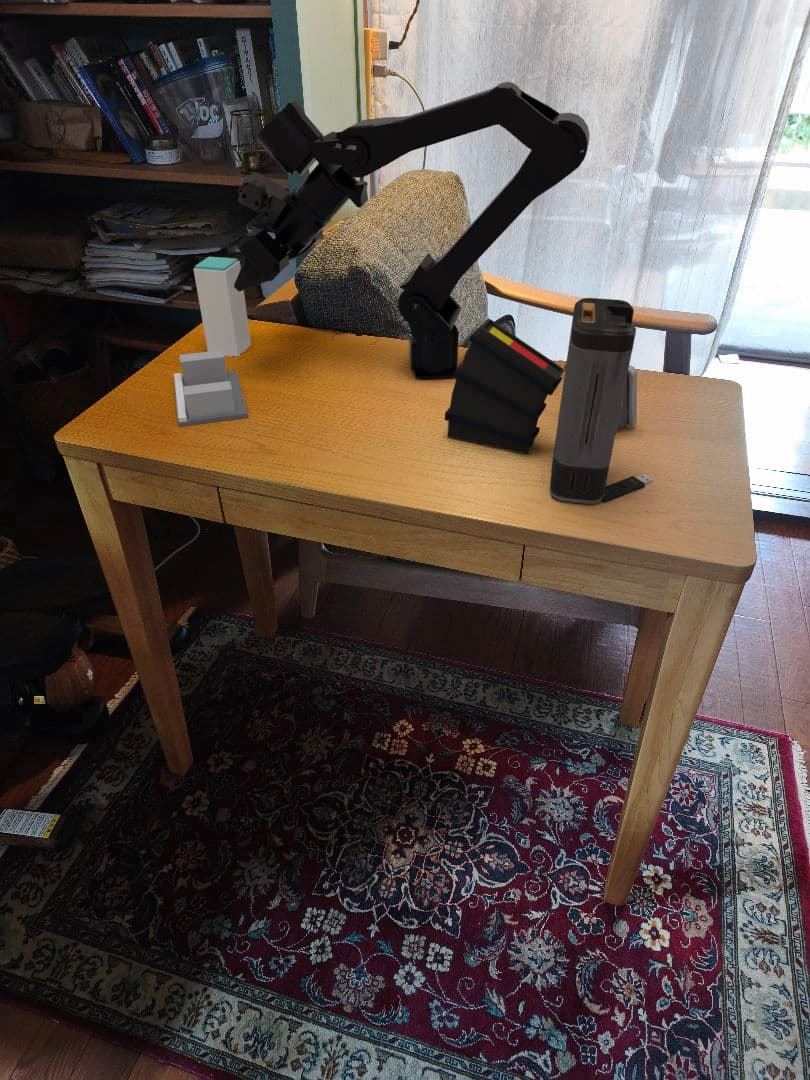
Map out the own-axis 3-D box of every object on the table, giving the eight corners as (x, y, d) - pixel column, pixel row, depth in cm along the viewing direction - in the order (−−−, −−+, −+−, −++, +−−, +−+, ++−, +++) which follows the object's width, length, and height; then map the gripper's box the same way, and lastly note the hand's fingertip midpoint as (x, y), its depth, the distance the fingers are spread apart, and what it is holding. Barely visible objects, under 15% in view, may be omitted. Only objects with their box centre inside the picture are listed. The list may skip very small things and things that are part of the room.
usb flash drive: (641, 477, 86) (643, 470, 86) (654, 485, 85) (655, 478, 84) (591, 497, 83) (592, 490, 83) (603, 505, 82) (604, 498, 81)
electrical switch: (636, 428, 95) (646, 363, 89) (610, 443, 93) (618, 378, 87) (581, 402, 101) (587, 339, 95) (555, 416, 99) (559, 353, 93)
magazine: (433, 409, 96) (487, 315, 85) (516, 465, 95) (581, 378, 85) (422, 421, 93) (476, 326, 83) (507, 480, 93) (573, 392, 82)
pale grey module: (251, 344, 117) (239, 258, 109) (238, 357, 113) (225, 268, 105) (222, 341, 118) (208, 256, 109) (208, 354, 114) (193, 266, 106)
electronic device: (603, 507, 81) (638, 333, 69) (548, 501, 82) (573, 328, 70) (602, 464, 88) (633, 299, 76) (552, 458, 89) (575, 295, 77)
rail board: (236, 374, 108) (232, 347, 106) (248, 417, 97) (243, 389, 95) (174, 381, 106) (168, 354, 104) (178, 426, 95) (172, 398, 93)
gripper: (296, 141, 103) (234, 218, 112) (242, 167, 89) (176, 254, 98) (351, 204, 107) (287, 274, 115) (308, 239, 92) (239, 317, 101)
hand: (249, 278), depth 107 cm, fingers open, 9 cm apart
